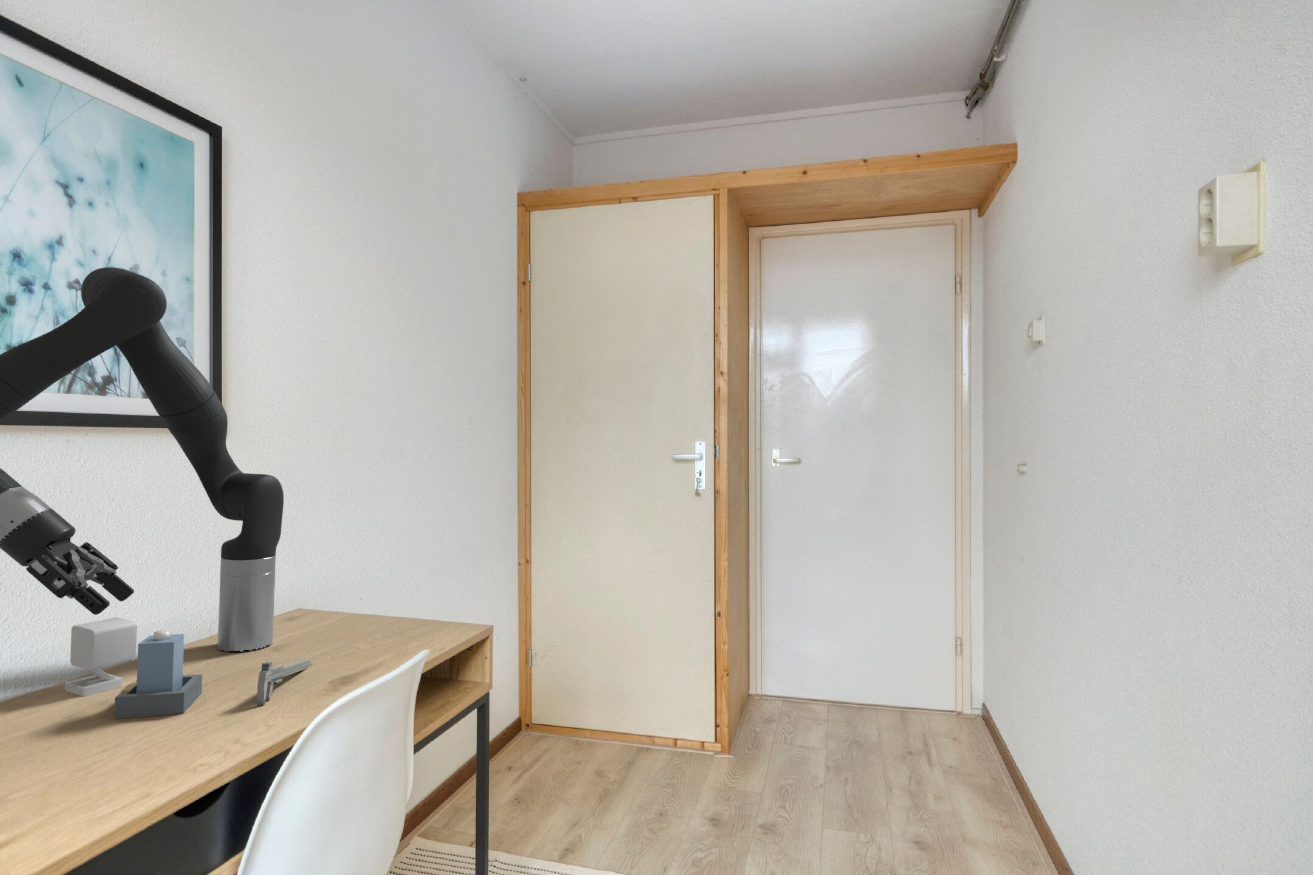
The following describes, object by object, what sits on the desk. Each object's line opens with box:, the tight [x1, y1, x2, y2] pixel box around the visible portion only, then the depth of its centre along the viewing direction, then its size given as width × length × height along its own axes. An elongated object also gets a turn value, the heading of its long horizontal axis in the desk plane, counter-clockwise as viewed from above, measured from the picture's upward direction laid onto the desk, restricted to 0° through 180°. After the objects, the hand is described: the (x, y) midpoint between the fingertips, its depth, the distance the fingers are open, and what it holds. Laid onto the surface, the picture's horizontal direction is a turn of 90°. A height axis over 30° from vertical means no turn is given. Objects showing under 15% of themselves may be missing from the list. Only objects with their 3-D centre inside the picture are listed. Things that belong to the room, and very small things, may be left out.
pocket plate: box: [113, 673, 203, 720], centre depth 105 cm, size 9×8×3 cm
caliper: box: [256, 659, 314, 706], centre depth 116 cm, size 20×1×6 cm, turn 7°
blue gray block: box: [136, 629, 185, 694], centre depth 105 cm, size 4×4×11 cm
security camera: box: [64, 617, 138, 697], centre depth 112 cm, size 6×7×10 cm
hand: (116, 603), depth 103 cm, fingers open, 8 cm apart
